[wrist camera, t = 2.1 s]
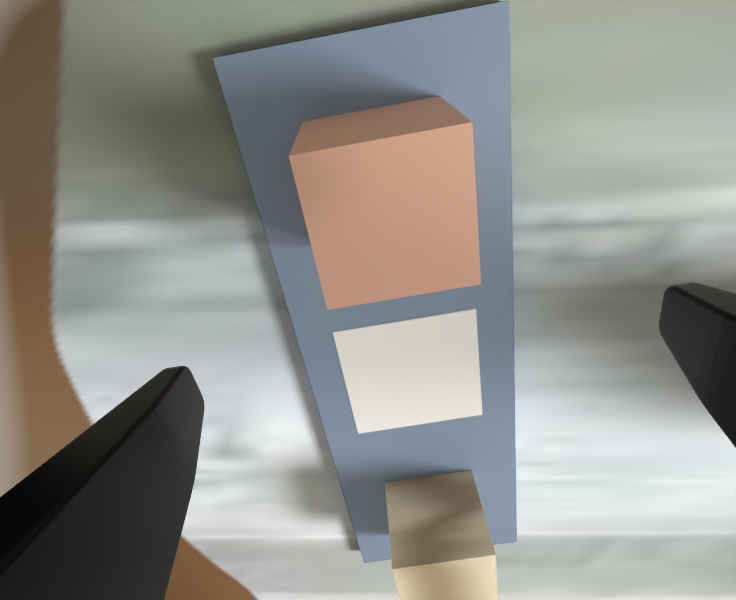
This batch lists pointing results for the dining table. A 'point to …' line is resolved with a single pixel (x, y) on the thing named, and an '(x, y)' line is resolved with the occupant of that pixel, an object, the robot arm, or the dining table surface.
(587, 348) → the dining table surface
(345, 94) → the baseplate
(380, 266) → the terracotta block
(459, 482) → the beech block
